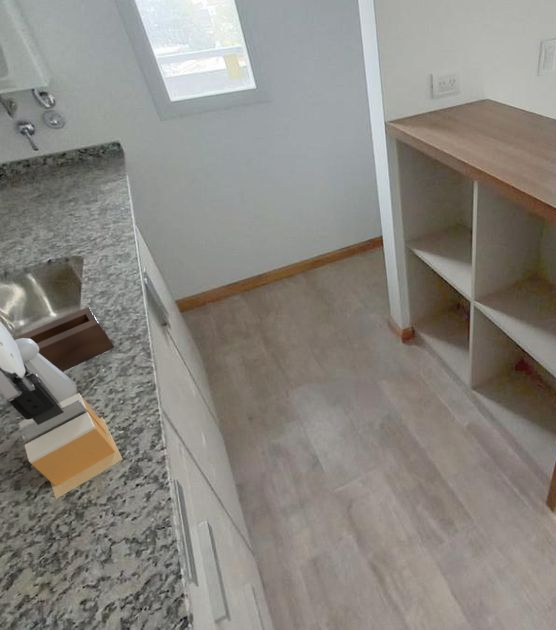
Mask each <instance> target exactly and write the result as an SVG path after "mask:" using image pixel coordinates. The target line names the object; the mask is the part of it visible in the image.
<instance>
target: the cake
mask: <svg viewBox="0 0 556 630" xmlns="http://www.w3.org/2000/svg"><path fill="white" fill-rule="evenodd" d="M78 400H79V401H80V402H81V404H82V405H83V406H84V408H85V409H86V410H87V412H88V413H89V414H90V416H91V417H92V418H93V419H94V420H95V422H96V423H97V424H98V425H99V426H100V428H101V429H102V430H103V431H104V433H105V434H106V435H107V436H108V437H109V439H110V442H111V444H112V446H113V448H114V450H115V452H114V453H112V454H110V455H109V456H107V457H105V458H103V459H102V460H100V461H98V462H97V463H95V464H93V465H91V466H90V467H88V468H86V469H85V470H83V471H81V472H79V473H78V474H76V475H74V476H72V477H71V478H69V479H67V480H66V481H64V482H62V483H60V484H59V485H57V486H55V485H54V484H53V483H51V482H50V485H51V489H52V492H53V495H54V498H55V500H58V499H59V498H61V497H62V496H64V495H66V494H67V493H69V492H71V491H72V490H74V489H76V488H77V487H79V486H81V485H82V484H84V483H86V482H87V481H89V480H91V479H92V478H95V477H96V476H98V475H99V474H101V473H103V472H105V471H106V470H108V469H109V468H111V467H112V466H114V465H116V464H118V463H119V462H121V461H123V456H122V455H121V453H120V451H119V449H118V446H117V444H116V442H115V440H114V438H113V436H112V433H111V432H110V431H111V430H110V429H109V428H108V425H107V424H106V421H105V418H104V416H101V417H99V415H98V414H97V413H96V411H94V409H93V408H92V407H91V406H90V404H89V403H88V402H87V401H86V399H85V398H84V396H82V395H81V394H80V392H77V394H76V395H74V396H72V397H70V398H68V399H66V400H64V401H62V402H60V404H61V406H62V408H63V407H65V406H67V405H69V404H71V403H74V402H76V401H78ZM32 422H34V420H33V419H29V420H27V419H25V418H24V420H22V421H20V422H18V427H19V429H20V428H22V427H24V426H26V425H28V424H30V423H32ZM20 434H21V438H22V441H23V442H25V444H27V443H29V441H28V440H27V439H26V438H25V437H24V436H23V434H22V433H21V432H20Z"/></svg>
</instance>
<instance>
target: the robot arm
mask: <svg viewBox="0 0 556 630" xmlns="http://www.w3.org/2000/svg"><path fill="white" fill-rule="evenodd" d="M14 340H15V339H14V338H13V336H12V335H11V334H10V332H9V331H8V329H7V328H6V327H5V326H4V324H3V323H2V322H1V321H0V394H1V395H2V396H3V397H4V398H5V399H6V401H7V402H8V403H9V404H10V405H11V406H12V407H13V408H14V409H15V410H16V411H17V412H18V413H19V414H20V415H21V417H23V418H24V420H25V419H27V420H29V419H32V418H34V417H36V416H38V415H40V414H42V413H44V412H46V411H48V410H50V409H52V408H53V407H54V403H53V401H52V400H51V399H50V398H49V397H48V396H47V395H46V394H45V393H44V391H43V390H42V389H41V388H40V387H39V386H38V385H37V384H35V385H33V384H32V382H31V381H30V380H29V379H28V378H29V377H31V376H33V375H34V374H33V373H32V374H30V371H29V369H28V368H27V367H26V366H25V365H24V364H23V361H22V357H21V355H20V352H19V349H18V346H17V344H16V342H15V341H14ZM28 374H30V375H28ZM27 375H28V376H27ZM19 381H21V382H19Z"/></svg>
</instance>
